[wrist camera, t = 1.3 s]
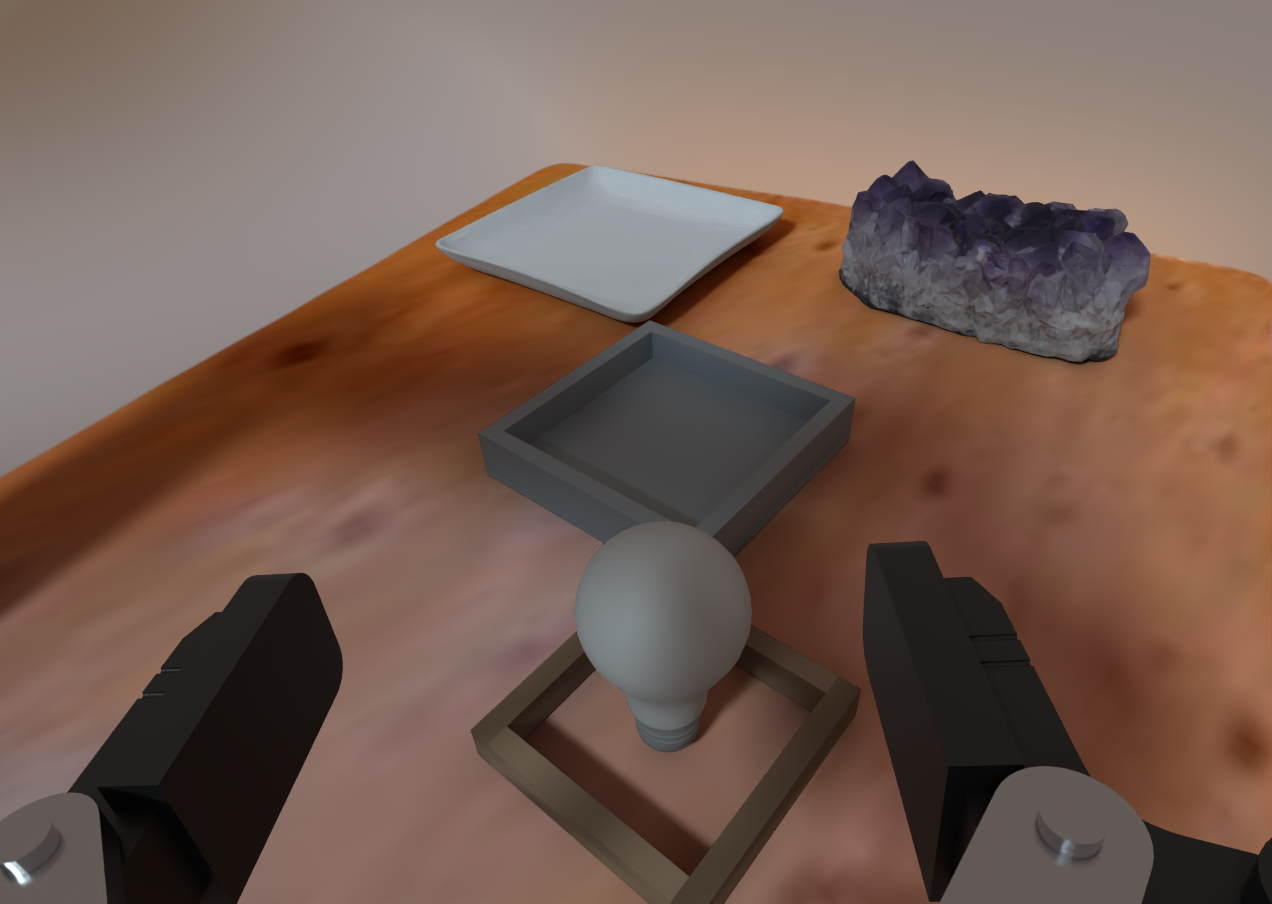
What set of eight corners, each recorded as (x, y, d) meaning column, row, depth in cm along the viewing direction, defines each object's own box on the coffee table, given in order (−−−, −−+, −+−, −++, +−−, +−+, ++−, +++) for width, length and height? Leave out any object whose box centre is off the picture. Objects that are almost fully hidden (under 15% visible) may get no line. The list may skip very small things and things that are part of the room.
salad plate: (788, 241, 69) (791, 202, 66) (643, 354, 56) (640, 311, 54) (596, 194, 79) (593, 159, 77) (437, 281, 66) (428, 242, 64)
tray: (487, 473, 46) (478, 433, 44) (651, 358, 55) (649, 320, 53) (695, 596, 38) (695, 553, 36) (849, 439, 47) (855, 398, 45)
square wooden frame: (478, 754, 32) (470, 730, 31) (649, 589, 39) (648, 564, 38) (695, 944, 27) (695, 922, 26) (855, 714, 33) (861, 689, 32)
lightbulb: (679, 648, 36) (674, 462, 29) (775, 745, 32) (796, 557, 25) (565, 723, 33) (530, 539, 26) (655, 840, 29) (642, 659, 22)
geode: (802, 316, 59) (817, 175, 53) (860, 272, 67) (878, 146, 61) (1110, 385, 49) (1166, 220, 43) (1134, 323, 57) (1183, 179, 52)
